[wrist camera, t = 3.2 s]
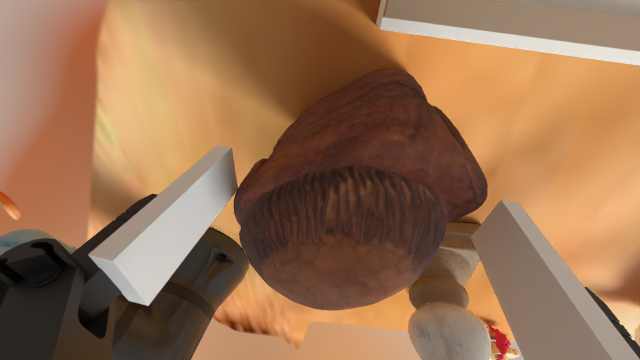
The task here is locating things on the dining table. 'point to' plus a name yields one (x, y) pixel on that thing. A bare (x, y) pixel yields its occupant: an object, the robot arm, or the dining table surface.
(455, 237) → the candle holder
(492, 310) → the dining table surface
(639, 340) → the teapot
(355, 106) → the wooden figurine
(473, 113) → the dining table surface
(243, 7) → the dining table surface
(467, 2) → the display plinth
